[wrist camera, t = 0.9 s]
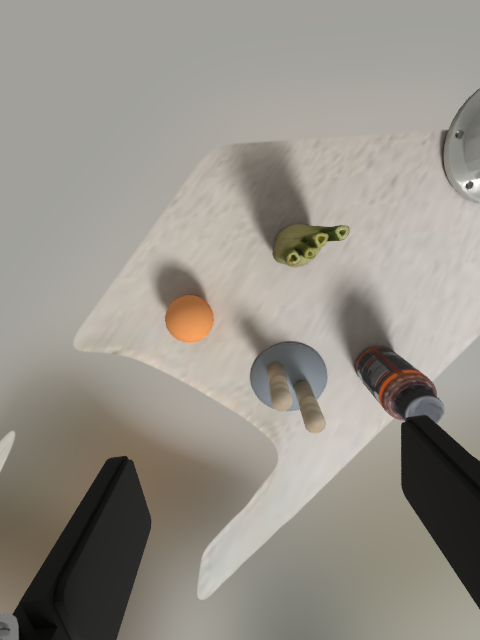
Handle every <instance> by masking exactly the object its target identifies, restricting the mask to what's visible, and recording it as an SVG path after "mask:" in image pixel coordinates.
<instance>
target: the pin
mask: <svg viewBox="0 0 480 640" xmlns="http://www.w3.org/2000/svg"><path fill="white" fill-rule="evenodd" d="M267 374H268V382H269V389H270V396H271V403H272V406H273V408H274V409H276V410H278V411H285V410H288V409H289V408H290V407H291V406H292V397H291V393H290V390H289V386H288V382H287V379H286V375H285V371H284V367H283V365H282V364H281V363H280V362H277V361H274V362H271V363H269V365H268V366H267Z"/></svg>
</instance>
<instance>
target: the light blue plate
mask: <svg viewBox="0 0 480 640" xmlns="http://www.w3.org/2000/svg"><path fill="white" fill-rule="evenodd" d="M274 361H277V362H280V363H281V364H282V365H283V367H284V371H285V375H286V379H287V382H288V386H289V390H290V393H291V397H292V406H291V407H290V408H289V409H288V410H285V411H294V410H299V409H300V407H299V404H298V401H297V397H296V394H295V391H294V385H295V384H296V382H298V381H300V380H305V381H307V382H308V383H309V384H310V386H311V388H312V391H313V393H314V395H315V398H316V400H317V399H318V398H319V397H320V395H321V394H322V392H323V391H324V388H325V386H326V383H327V369H326V366H325V363H324V361H323V360H322V358H321V357H320V355H319V354H318V353H317V352H316V351H314V350H313V349H312V348H310V347H308V346H306V345H303V344H300V343H292V342H288V343H281V344H277V345H274V346H272V347H270V348H268V349H267V350H265V351H264V352H263V353H262V354H261V355H260V356H259V357H258V358H257V360H256V361H255V363H254V365H253V368H252V372H251V384H252V388H253V390H254V392H255V394H256V396H257V397H258V398H259V399H260V400H261V401H262V402H263V403H264V404H266V405H267V406H269V407H271V408H273V406H272V403H271V396H270V389H269V382H268V374H267V366H268V365H269V363H271V362H274ZM273 409H274V408H273Z"/></svg>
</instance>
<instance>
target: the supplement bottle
mask: <svg viewBox="0 0 480 640" xmlns="http://www.w3.org/2000/svg"><path fill="white" fill-rule="evenodd" d="M356 373H357V375H358V377H359V378H360V380H361V381H362V382H363V384H364V385H365V386H366V387H367V388H368V390H369V391H370V392H371V393H372V395H373V396H374V397H375V398H376V400H377V401H378V402H379V403H380V405H381V406H382V407H383V408H384V409H385V411H386V412H387V413H388V414H390V415H391V416H392V417H394V418H396V419H399V420H404V421H405V420H406V418H407V417H412V416H419V415H427V416H428V417H430V418H431V419H432V420H433V421H434V422H435V423H436V424H437V423H438V422H439V421H440V419H441V418H442V416H443V414H444V405H443V403H442V401H441V400H440V399H439V398H437V393H436V388H435V386H434V384H433V383H432V381H430V379H428V378H427V377H426V376H425V375H424V374H422V373H421V372H420V371H418V370H417V369H416V368H415V367H413V366H412V365H411V364H409V363H408V362H407V361H406V360H404V359H403V358H402V357H400V356H399V355H398V354H396V353H395V352H394V351H392V350H391V349H389V348H386V347H373V348H370V349H368V350H366V351H365V352H363V353H362V354H361V355H360V357H359V358H358V360H357V362H356Z"/></svg>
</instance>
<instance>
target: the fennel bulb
mask: <svg viewBox="0 0 480 640" xmlns="http://www.w3.org/2000/svg"><path fill="white" fill-rule="evenodd" d="M348 234H349V227H348V226H342V225H340V226H334V227H321V226H309V225H303V224H295V225H290V226H288V227H286V228H284V229H282V230H281V231H280V232H279V233H278V234H277V236H276V239H275V247H274V249H273V257H274V259H275V260H276V261H277V262H279V263H282V264H286V265H289V266H291V267H299V266H303V265H306V264H307V263H309V262H310V261H311V260H313V259H314V258H315V256H316V255H317V254H318V252H319V251H320V249H321V247H323V246H324V245H325V243H326V242H327V241H340V240H344V239H345V238H346V237H347V235H348Z"/></svg>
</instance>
